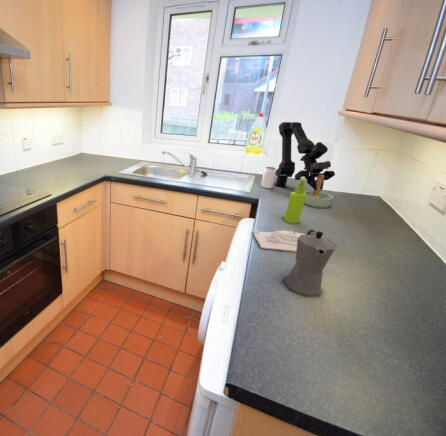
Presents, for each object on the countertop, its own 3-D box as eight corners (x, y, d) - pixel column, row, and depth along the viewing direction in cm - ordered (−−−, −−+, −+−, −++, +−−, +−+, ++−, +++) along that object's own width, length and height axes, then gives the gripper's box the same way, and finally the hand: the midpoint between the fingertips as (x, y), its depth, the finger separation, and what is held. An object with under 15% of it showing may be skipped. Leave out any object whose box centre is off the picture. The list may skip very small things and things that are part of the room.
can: (269, 185, 186) (274, 166, 181) (273, 188, 180) (278, 169, 175) (259, 185, 186) (263, 166, 181) (262, 188, 180) (267, 168, 175)
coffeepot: (325, 304, 80) (347, 245, 73) (287, 295, 83) (304, 238, 76) (314, 274, 94) (332, 223, 86) (281, 268, 97) (296, 217, 90)
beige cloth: (246, 234, 122) (248, 223, 120) (303, 234, 121) (306, 223, 119) (264, 254, 106) (266, 242, 104) (329, 254, 106) (332, 242, 104)
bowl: (300, 198, 165) (302, 189, 163) (328, 202, 160) (330, 193, 158) (302, 205, 154) (304, 196, 152) (332, 210, 148) (335, 200, 147)
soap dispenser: (285, 223, 131) (297, 179, 124) (283, 217, 137) (294, 175, 130) (300, 225, 130) (313, 181, 122) (297, 219, 136) (309, 177, 128)
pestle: (307, 198, 160) (315, 173, 154) (317, 200, 158) (326, 174, 153) (308, 201, 156) (316, 175, 150) (319, 203, 154) (327, 177, 149)
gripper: (304, 154, 151) (312, 182, 145) (338, 155, 152) (348, 182, 146) (290, 166, 161) (298, 192, 155) (323, 166, 163) (331, 192, 157)
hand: (318, 189), depth 153 cm, fingers closed on pestle, 2 cm apart
